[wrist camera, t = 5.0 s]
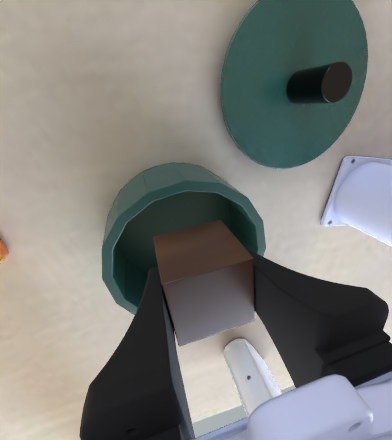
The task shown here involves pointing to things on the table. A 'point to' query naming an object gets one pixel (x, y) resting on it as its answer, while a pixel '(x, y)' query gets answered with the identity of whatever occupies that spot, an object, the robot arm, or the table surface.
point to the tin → (168, 222)
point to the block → (205, 280)
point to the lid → (293, 78)
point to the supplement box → (3, 251)
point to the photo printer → (250, 375)
